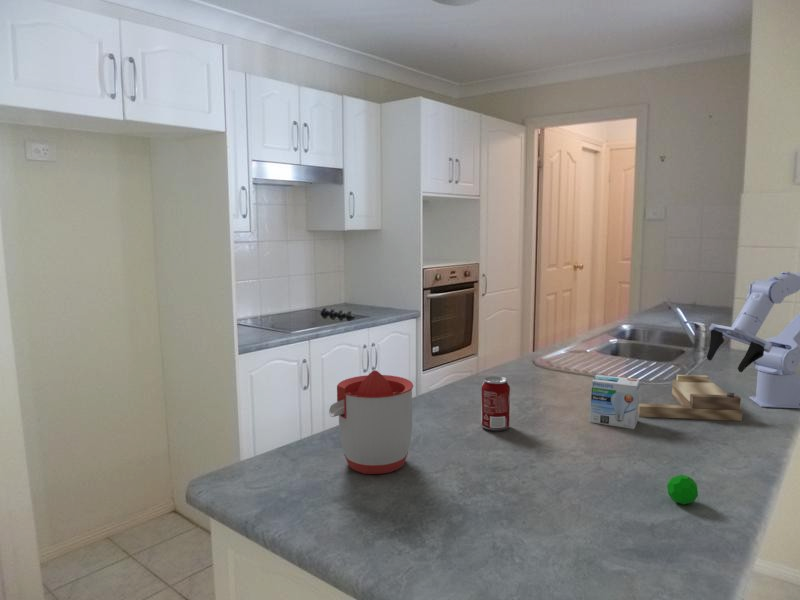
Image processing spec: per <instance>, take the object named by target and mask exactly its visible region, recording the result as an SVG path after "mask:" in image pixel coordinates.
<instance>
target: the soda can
mask: <svg viewBox="0 0 800 600" xmlns="http://www.w3.org/2000/svg"><path fill="white" fill-rule="evenodd" d="M480 389H481V390H480V391H481V392H480V395H481V398H480V404H481V405H480V425H481V427H482V428H484V429H486V430H488V431H492V432H501V431H504V430H506V429H508V428H510V409H511V408H510V403H511V402H510V401H511V393H510V392H511V387H510V385H509V383H508V379H507V378H506V377H503V376H496V375H495V376H493V375H492V376H491V375H490V376H486V377H484V378H483V383H482V384H481V388H480Z"/></svg>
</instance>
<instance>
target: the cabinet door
mask: <svg viewBox="0 0 800 600" xmlns="http://www.w3.org/2000/svg"><path fill="white" fill-rule="evenodd" d="M726 393H727V395H707V394H690V406H691V407H692V408H707V409H732V410H740V409H741V400H742V399H741V397H740V396H739V395H735V393H734V392H726Z"/></svg>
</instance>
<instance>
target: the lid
mask: <svg viewBox="0 0 800 600" xmlns="http://www.w3.org/2000/svg"><path fill="white" fill-rule="evenodd" d="M671 384H672V385H673V386H674V387H675V388H676V389H677V390H678V391H679V392H680V393H681V394H682V395H683V396H684V397H685V398H686V399H687V400H688V401H689V402H690V394H707V395H727V393H728V392H726V391H725V390H723V389H722V388H721V387H719V386H718V385H717V384H716V383H714V382H713V381H711V380H710V376H709V375H704V374H703V375H697V374H693V375H692V374H691V375H690V374H676V379H672V383H671Z"/></svg>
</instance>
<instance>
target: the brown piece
mask: <svg viewBox="0 0 800 600" xmlns="http://www.w3.org/2000/svg"><path fill="white" fill-rule="evenodd" d="M671 397H672V398H674V399H675V400H676V402H677V403H678V404H664V403H663V404H660V403H659V404H658V403H639V407H638V417H644V418H645V417H647V418H670V419H689V420H690V419H694V420H695V419H696V420H715V421H739V422H740V421H742V419H743V410H742V409H741V408H740V410H732V409H707V408H692V407H691V406H690V402H689V401H688V400H687V399H686V398H685V397H684V396H683V395H682V394H681V393H680V392H679V391H678V390H677V389H676V388H675V387H674V386H673V385H672V386H671Z"/></svg>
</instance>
